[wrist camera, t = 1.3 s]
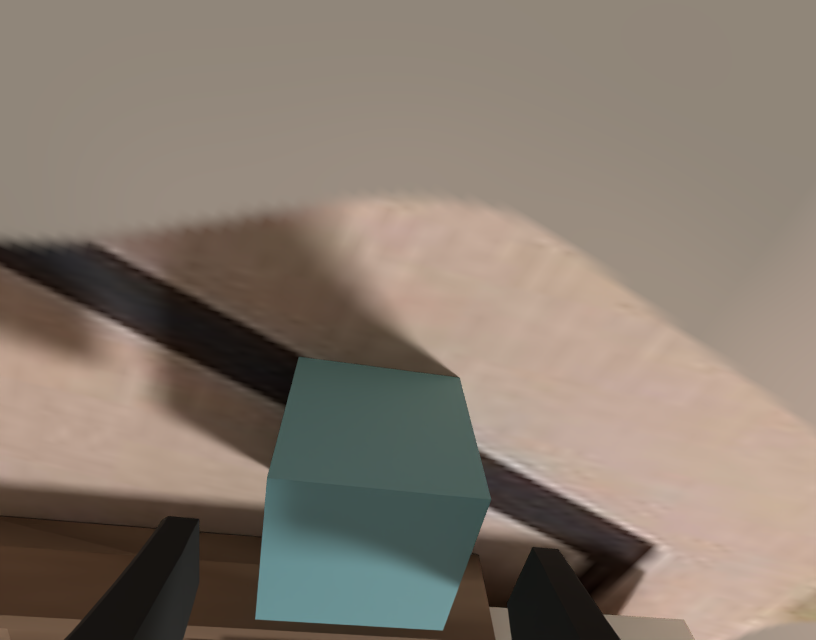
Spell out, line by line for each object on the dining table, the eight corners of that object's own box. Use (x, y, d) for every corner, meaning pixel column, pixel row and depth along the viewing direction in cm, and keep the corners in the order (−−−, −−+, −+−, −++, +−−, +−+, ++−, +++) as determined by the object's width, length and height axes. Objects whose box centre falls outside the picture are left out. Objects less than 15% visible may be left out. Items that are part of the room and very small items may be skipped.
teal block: (426, 490, 16) (442, 630, 12) (286, 476, 16) (255, 619, 12) (459, 375, 14) (491, 499, 10) (299, 354, 14) (267, 477, 10)
